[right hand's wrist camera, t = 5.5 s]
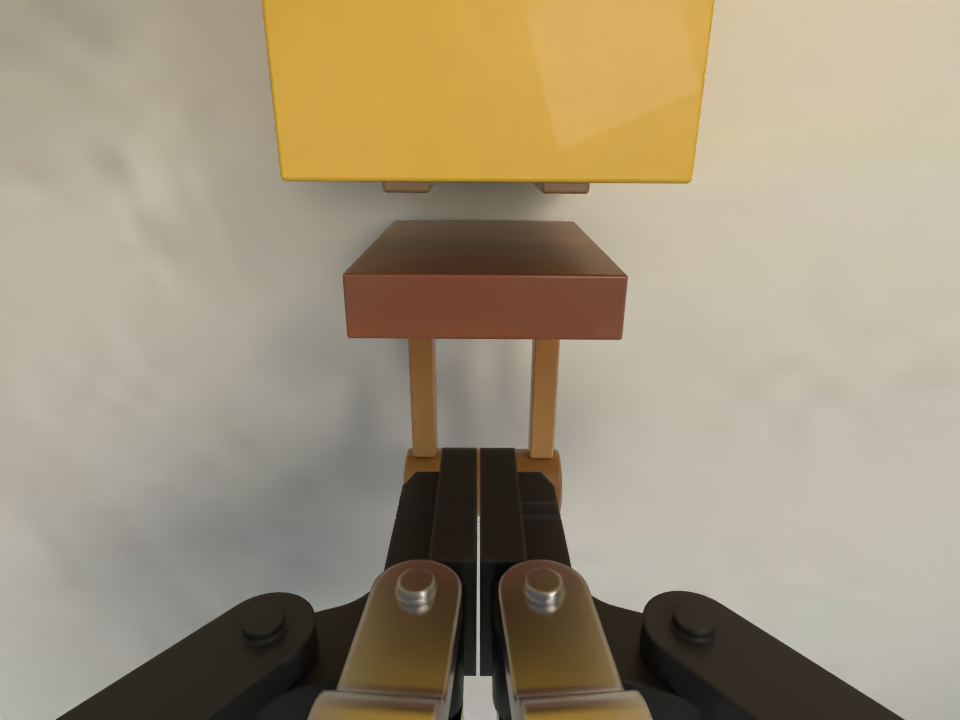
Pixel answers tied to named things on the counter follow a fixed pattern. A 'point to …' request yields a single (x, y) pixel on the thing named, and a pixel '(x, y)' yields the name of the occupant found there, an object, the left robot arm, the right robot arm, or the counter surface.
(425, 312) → the drawer
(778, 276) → the counter surface
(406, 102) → the cabinet
